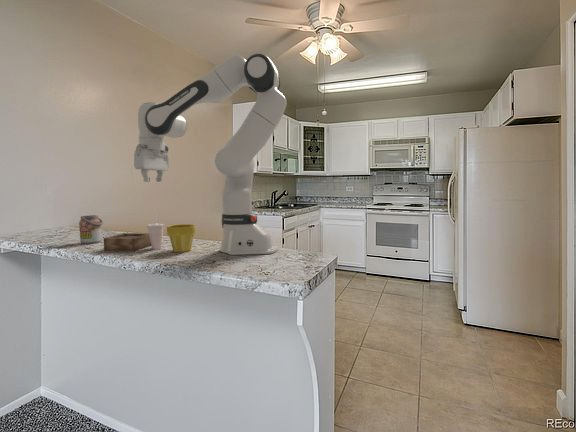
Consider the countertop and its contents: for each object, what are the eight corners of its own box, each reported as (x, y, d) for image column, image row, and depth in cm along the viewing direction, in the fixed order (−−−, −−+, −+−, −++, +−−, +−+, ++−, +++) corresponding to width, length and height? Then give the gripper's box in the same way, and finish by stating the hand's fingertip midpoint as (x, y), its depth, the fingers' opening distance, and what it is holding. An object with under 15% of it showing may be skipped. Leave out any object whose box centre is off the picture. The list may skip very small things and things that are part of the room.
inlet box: (152, 244, 139) (152, 233, 139) (135, 251, 126) (134, 238, 126) (124, 244, 140) (123, 233, 140) (104, 250, 128) (103, 238, 127)
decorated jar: (108, 241, 150) (106, 215, 148) (95, 244, 141) (93, 217, 140) (89, 240, 151) (87, 215, 149) (75, 244, 142) (73, 217, 141)
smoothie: (159, 250, 128) (157, 214, 126) (144, 249, 129) (142, 214, 128) (168, 247, 134) (166, 213, 133) (154, 246, 135) (152, 213, 134)
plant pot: (179, 247, 134) (178, 223, 133) (201, 248, 131) (200, 224, 130) (162, 252, 124) (161, 226, 123) (185, 253, 121) (184, 227, 120)
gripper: (144, 143, 117) (146, 181, 118) (171, 148, 137) (172, 181, 138) (128, 143, 117) (130, 181, 119) (156, 149, 138) (158, 181, 139)
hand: (153, 181), depth 129 cm, fingers open, 8 cm apart
